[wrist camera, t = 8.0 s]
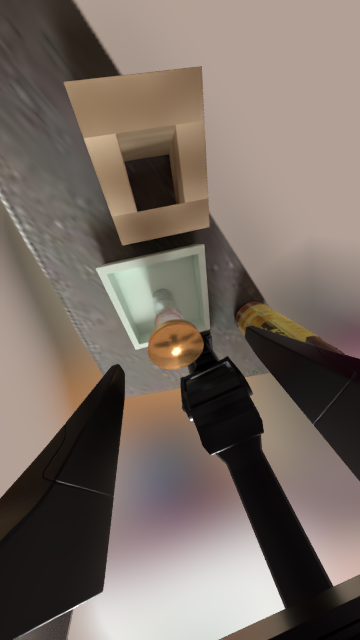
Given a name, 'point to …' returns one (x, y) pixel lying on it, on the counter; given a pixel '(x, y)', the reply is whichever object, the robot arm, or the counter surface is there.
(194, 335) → the orange-capped jar
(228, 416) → the robot arm
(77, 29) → the counter surface
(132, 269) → the sage tray
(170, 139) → the block
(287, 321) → the sauce bottle
